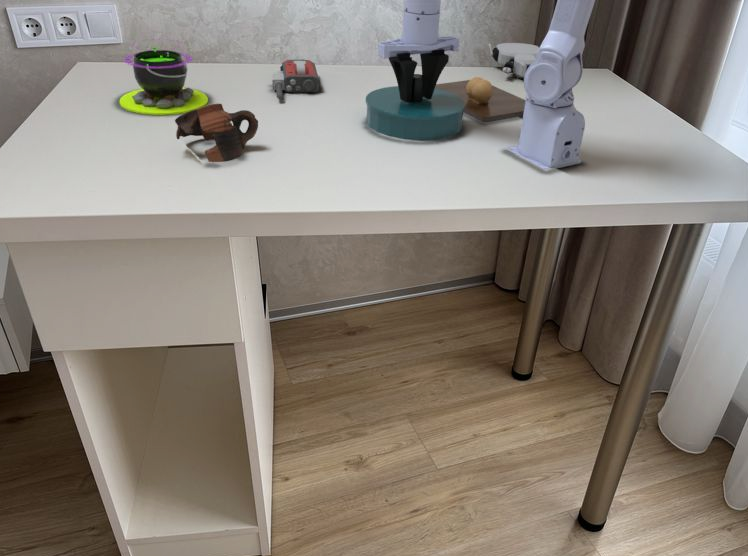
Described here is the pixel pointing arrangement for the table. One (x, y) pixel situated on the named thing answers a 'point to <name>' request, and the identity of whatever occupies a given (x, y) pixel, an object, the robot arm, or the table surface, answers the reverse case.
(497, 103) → the board
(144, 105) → the toy cauldron
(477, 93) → the potato
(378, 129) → the teal bowl
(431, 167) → the table surface
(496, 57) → the robot toy
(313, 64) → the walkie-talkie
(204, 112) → the broken mug
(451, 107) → the teal disc
